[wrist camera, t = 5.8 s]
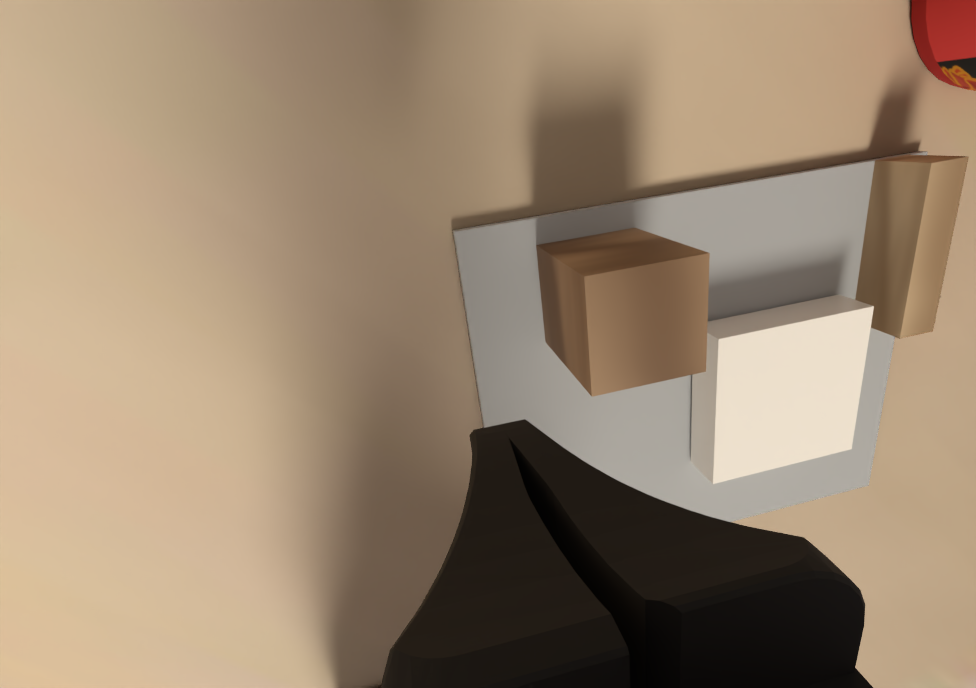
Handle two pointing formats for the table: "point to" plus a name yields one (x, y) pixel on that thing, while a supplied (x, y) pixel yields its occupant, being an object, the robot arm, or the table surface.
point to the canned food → (947, 39)
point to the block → (625, 308)
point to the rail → (909, 240)
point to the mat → (732, 291)
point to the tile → (779, 386)
